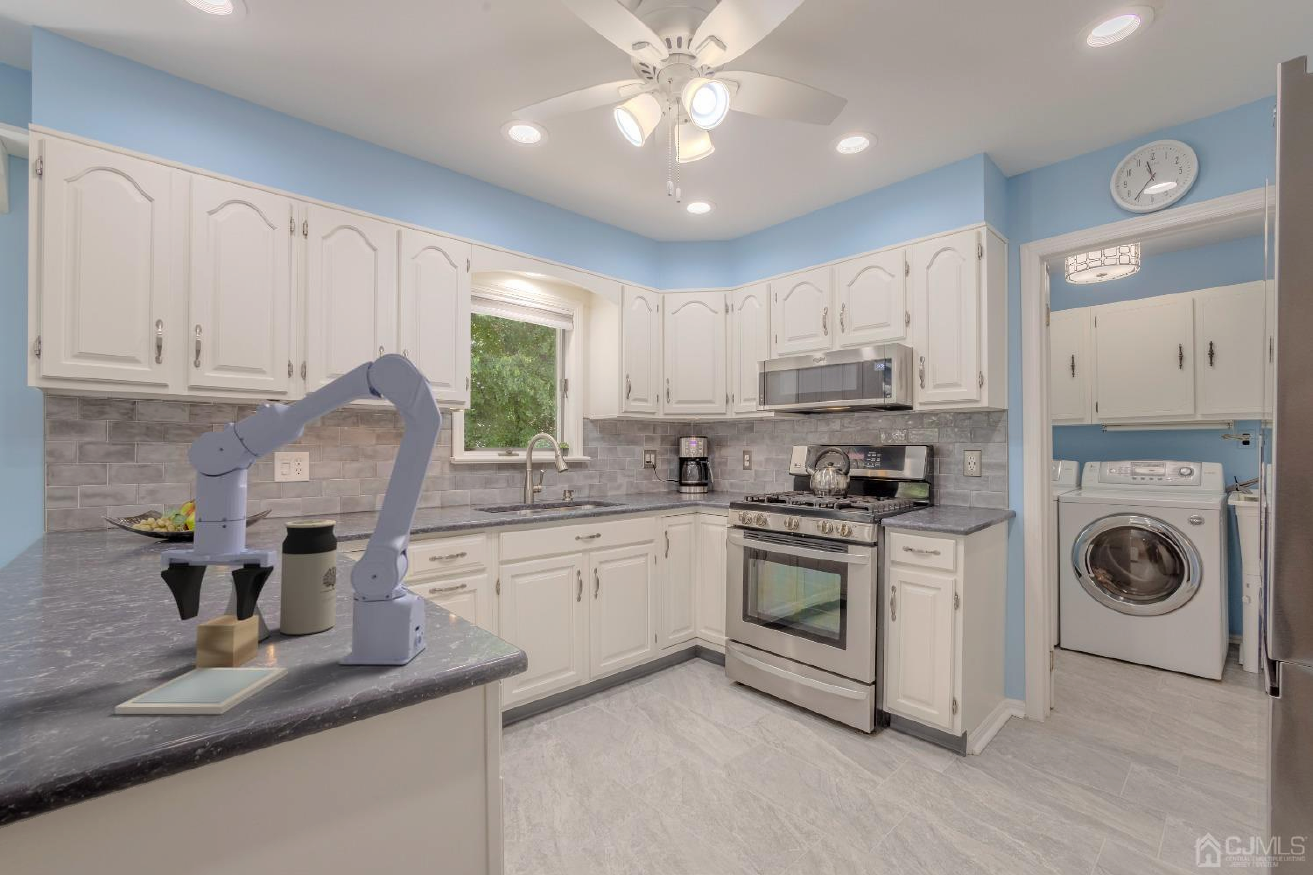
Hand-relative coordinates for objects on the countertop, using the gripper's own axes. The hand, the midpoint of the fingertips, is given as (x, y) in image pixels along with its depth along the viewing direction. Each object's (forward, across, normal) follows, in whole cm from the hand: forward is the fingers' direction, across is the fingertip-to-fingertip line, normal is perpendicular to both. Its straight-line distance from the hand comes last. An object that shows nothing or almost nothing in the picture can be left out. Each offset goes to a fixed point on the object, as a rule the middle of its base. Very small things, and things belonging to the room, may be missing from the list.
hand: (217, 618), depth 79 cm
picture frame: (+7, +5, -8) cm, 12 cm away
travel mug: (+7, +2, +18) cm, 19 cm away
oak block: (+7, 0, +2) cm, 7 cm away
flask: (+7, -5, +12) cm, 15 cm away
